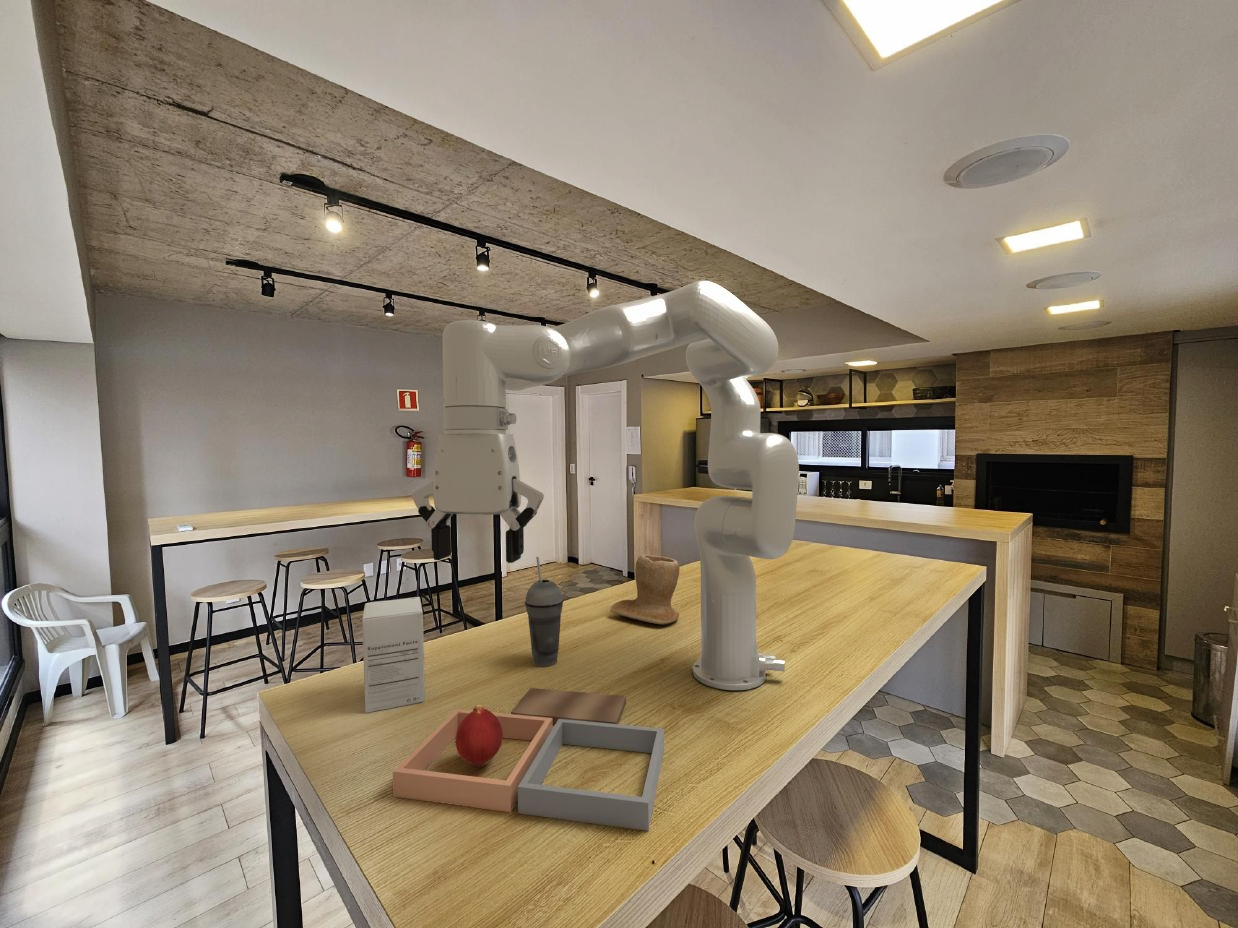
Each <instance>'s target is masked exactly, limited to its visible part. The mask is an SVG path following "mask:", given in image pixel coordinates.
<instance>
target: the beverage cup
mask: <svg viewBox="0 0 1238 928" xmlns="http://www.w3.org/2000/svg"><path fill="white" fill-rule="evenodd" d="M540 564H541V563H540V557H539V556H536V566H537V573H538V579H539V580H537V581H535V582H534V583H532V584H531V586H529V588H528V589H527V591H526V595H525V600H524V605H525V609H526V613H527V619H528V627H529V636H530V647H531V656H532V661H533V665H534V666H537V667H541V668H547V667H551V666H554V665H556V664H557V663H558V656H559V649H560V648H559V647H560V635H561V633H560V632H561V631H560V630H561V619H562V617H561V616H562V611H563V606H564V603H565V602H564V596H563V592H562V590H561V588H560V586H558V584H557V583H556V582H554V581H553V580H550V579H542V571H541V565H540Z"/></svg>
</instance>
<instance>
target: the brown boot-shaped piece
mask: <svg viewBox="0 0 1238 928" xmlns="http://www.w3.org/2000/svg"><path fill="white" fill-rule="evenodd" d="M680 571H681V569H680V563H679V561H678V560H676V559H674V558H671V557H666V556H660V555H655V554H654V555H652V554H641V555H640V556H639V557H638V558H637V560H636V562H635V585H636V590H637V591H636V593H637V594H636V595H637V597H636V598H635V599H622V600H619V601H617V602H615V603H614V604H613V605H611V607H610V610H609V611H610V612H611V613H614V614H616V615H620V616H624V617H626V618H629V619H633V620H636V621H641V622H646V623H651V624H656V625H667V624H671V623H673V622H675V621H677V620H678V619H679V618H680V613H679V612H678V611H677V610H675V608H673V607H672V599H673V596H674V592H675V590H676V588H677V585H678V581H679V577H680Z"/></svg>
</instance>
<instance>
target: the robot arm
mask: <svg viewBox="0 0 1238 928" xmlns="http://www.w3.org/2000/svg"><path fill="white" fill-rule="evenodd" d="M685 345H687V348H686V351H685V363H686V365H687V369H688V370H689V372H690V374H691V375H692V377H693V378H694V379H695V380H696V381H697V382H698V384H699V385H700V386H701V387H702V389H703V390H704V392H705V394H706V396H707V398H708V401H709V404H710V411H711V413H710V414H711V416H710V430H709V431H710V433H709V442H708V455H707V457H708V458H707V471H708V475H709V479H710V480H711V481H712V483H714V484H715V485H718V486H720V487H721V488H722V487H723V488H727V489H734V490H744V491H745V490H747V491H748V490H749V491H752V493H751V494H752V497H751V498H750V497H745V496H744V497H743V496H734V495H733V496H731V495H718V496H717V495H716V496H712V497H709V498H708V499H706V500H704V501H703V502H702V503H701V504H700V505H699V506H698V508H697V510H696V512H695V516H694V532H695V538H696V543H697V547H698V553H699V563H700V630H701V631H700V637H701V638H700V645H701V646H700V649H701V650H700V651H701V652H700V653H701V655H700V658H698V659H697V660H696V661H695V662H694V663H693V664H692V673H693V677H694V678H695V679H696V680H698V682H701V683H702V684H703V685H706V686H708V687H710V688H711V687H712V688H715V689H718V690H719V689H720V690H725V691H726V690H727V691H745V690H746V691H747V690H751V689H754V688H758V687H759V686H762V684H763V683H764V682H765V681H766V677H767V676H766V675H767V674H766V673H767V672H766V671H775V672H785V670H786V669H785V668H786V666H785V659H782V658H781V659H780V658H776V655H775V654H762V652H759V648H758V645H757V576H756V570H755V567H754V564H753V561H752V559H751V558H757V559H762V560H775V559H779V558H781V557H782V556H784V555H785V554H786V553H787V552H788V550H789V549H790V547H791V544H792V543H793V539H794V535H795V528H796V517H797V503H798V491H799V480H800V478H799V477H800V464H799V463H800V462H799V457H798V453H797V450H796V448H795V447H794V444H793V443H792V442H791V440H789V438H787V437H786V436H784V435H782V434H779V433H773V432H767V433H765V432H764V433H762V432H761V403H760V401H759V400H760V399H759V397H758V395H757V394H756V392H755V389H754V388H753V386H752V385H751V384H750V382H749V381H748V380H747V379H746V378H750V377H756V376H759V375H762V374H765V373H766V372H768V371H770V370H771V369H772V368H773V367H774V365H775V364H776V362H777V359H778V356H779V342H778V339H777V336H776V334H775V332H774V330H773V329H772V328H771V326H770V325H769V324H768V323H767V322H766V321H765V320H764V319H763V318H762V317H760V316H759V315H758V314H757V313H755V312H754V311H753V310H752V309H751V308H750V307H749V306H747V304H745V303H744V302H743V301H741V300H740V299H739V298H738V297H737V296H735V295H734V294H732V293H731V292H730V291H728V290H727V289H726V288H724V287H722V286H721V285H719V284H717V283H715V282H712V281H709V280H696V281H695V282H694V281H693V282H692V283H689V284H686V285H684V286H682V287H679V288H676V289H674V290H672V291H668V292H665V293H662V294H658V295H653V296H649V297H644V298H642V299H641V298H640V299H637V300H632V301H627V302H622V303H618V304H613V305H607V306H605V307H603V308H599V309H597V310H594V311H591V312H589V313H587V314H585V315H583V316H580V317H578V318H576V319H573V320H571V321H568V322H566V323H563V324H559V325H556V326H553V327H549V326H545V325H539V324H530V325H527V324H525V325H498V324H495V323H492V322H488V321H484V320H476V319H461V320H456V321H453V322H452V321H451V322H450V323H448V324H447V325H446V326H445V327H444V330H443V332H442V380H443V382H442V383H443V384H442V385H443V386H442V387H443V388H442V389H443V434H439V437H438V440H437V441H438V442H437V445H436V450H435V451H436V453H435V459H434V469H433V481H431V482H429V483H428V484H426V485H423V486H422V487H420V488H418V489H417V490H415V491H413V492H412V493H411V498H412V500H413V502H414V504H415V507H416V508H417V509H418V510H417V511H418V515H419V516H420V517H421V519H422V518H423V520H424V521H425V522H426V526H427V527H428V528H429V529H431V535H430V536H431V551H432V553H433V557H432V558H433V560H434V561H440V560H443V559H445V558H448V557H450V556H451V555H452V535H451V534H452V532H451V531H452V528H451V526H450V524H449V525H448V522H449V520H450V519H451V518H452V516H453V515H484V516H485V515H488V516H489V515H490V516H491V515H493V516H495V515H499V516H500V517H501V518H502V520H504V522H505V523H506V525H507V526H508V528H509V529H508V530H506V531H505V561H506V562H507V563H508V564H514V563H516V561H518V560H520V559H521V558H522V555H523V554H524V551H525V549H524V547H525V545H524V544H525V543H524V542H525V541H524V534H525V533H524V528H525V527H527V525H528V524H529V522H530V521H531V520H533V518H534V517H535V516H536V515H537V514H538V510H539V508H540V506H541V505H542V502H543V500H544V498H545V495H544V493H543V492H542V491H539V490H538V489H536V488H534V487H532V486H530V485H529V484H527V483H525V482H523V481H521V477H520V476H521V475H520V466H519V458H518V453H517V446H516V442H515V438H514V435H513V434H510V433H509V434H508V433H507V430H508V429H509V426H510V425H515V424H516V423H517V415H516V413H514V412H513V413H512V412H511V413H510V412H508V408H507V393H506V392H507V391H512V392H513V391H514V392H516V391H522V390H526V389H527V390H528V389H530V388H534V387H539V386H545V385H548V384H551V383H553V382H555V381H557V380H558V379H561V378H564V377H569V376H572V375H575V374H580V373H585V372H591V371H599V370H604V369H608V368H612V367H615V366H619V365H623V364H626V363H631V362H632V361H636V360H639V359H642V358H647V357H649V356H652V355H655V354H658V353H662V352H666V351H669V350H672V349H675V348H678V347H683V346H685ZM431 496H433V504H434V507H433V506H432V505H431V504H430V500H429V498H430V497H431ZM522 497H524V498H525V499H527V504H526V506H525V508H524V509H523V510H522V511H520V510H519V508H520V506H521V503H522Z"/></svg>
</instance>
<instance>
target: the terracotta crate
mask: <svg viewBox="0 0 1238 928" xmlns="http://www.w3.org/2000/svg"><path fill="white" fill-rule="evenodd" d="M472 711H473V709H471V710H469V709H462V708H461V709H459V708H455V709H454V710H453V711H452V712H451V713H450V714H449V715H448V716H447V717H446V718H445V719H444V720H443V721H442V722H441V723H440V724H439V725H438V726H437V727H436V728H435V729H434V730H433V731H432V732H431V733H430V734H429V735H428V736H427V737H425V739H423V741H422V742H421V743H419V745H418V746H417V747H416V748H415V749H414V750H413V751H412V752H411V753H410V754H408V756H406V758H405V759H404V760H403V761H402V762H400V764H398V766H396V768H394V769H393V770H392V789H393V792H392V793H393V794H392V796H393V798H394V797H395V798H401V799H402V798H403V799H408V800H409V799H410V800H416V801H417V800H418V801H424V802H430V801H433V802H432V803H438V802H441V803H440V804H445V803H451V804H450V805H453V804H458V805H457V806H460V805H463V806H462V807H468V806H471V807H470V808H476V809H482V810H491V811H496V812H497V811H499V812H506V813H512V811H513V810H514V808H515V806H516V804H517V803H518V786H519V784H520V782H521V781H522V779H523V777H524V776H525V774H526V772H527V771H528V769H529V767H530V766H531V764H532V762H533V761H534V759H535V757H536V756H537V754H538V752H539V751H540V749H541V747H542V746H543V744H544V742H545V741H546V739H547V737H548V736H549V734H550V732H551V731H552V729H553V727H554V726H553V718H546V717H535V716H525V715H514V714H511V713H501V712H493V711H492V713H493V714H494V715H495V716H496V717H497V718H498V720H499V722H500V724H501V727H502V732H503V738H504V739H513V740H524V741H530V743H529V745H528V746H527V747H526V749H525V751H524V752H523V754H522V756H521V758H519V760H518V762H517V763H516V765H515V767H514V768H513V770H512V771H511V773H510V774H509V776H508V777H507V778H506V780H503V779H496V778H488V777H481V776H471V775H464V774H456V773H447V772H439V771H431V770H427V769H428V767H429V766H430V765H431V764H432V763H433V761H434V760H436V759H437V757H438V756H439V755H440V754H441V753H442V752H443V751H444V749H446V748H447V746H448V745H449V744H450V743H451V742H452V741H453V740H454V739H456V734H457V731H458V728H459V725H460V723H461V722H462V720H463V719H464V718H465V717H466V716H467V715H468V714H469V713H471V712H472ZM503 738H502V739H503ZM442 802H443V803H442ZM464 805H465V806H464Z"/></svg>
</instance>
